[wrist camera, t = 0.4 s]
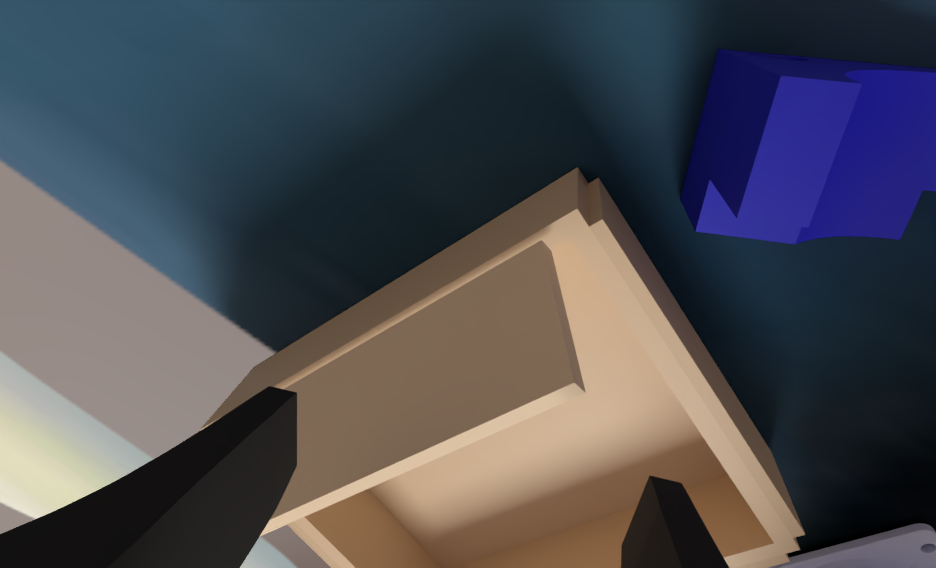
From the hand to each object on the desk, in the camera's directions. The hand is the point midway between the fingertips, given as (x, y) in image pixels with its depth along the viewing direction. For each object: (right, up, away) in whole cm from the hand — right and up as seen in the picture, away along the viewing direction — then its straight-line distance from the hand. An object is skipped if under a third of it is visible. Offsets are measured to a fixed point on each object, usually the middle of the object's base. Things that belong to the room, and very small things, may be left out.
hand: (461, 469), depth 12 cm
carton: (+1, -2, +12) cm, 12 cm away
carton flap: (-3, 0, +5) cm, 6 cm away
